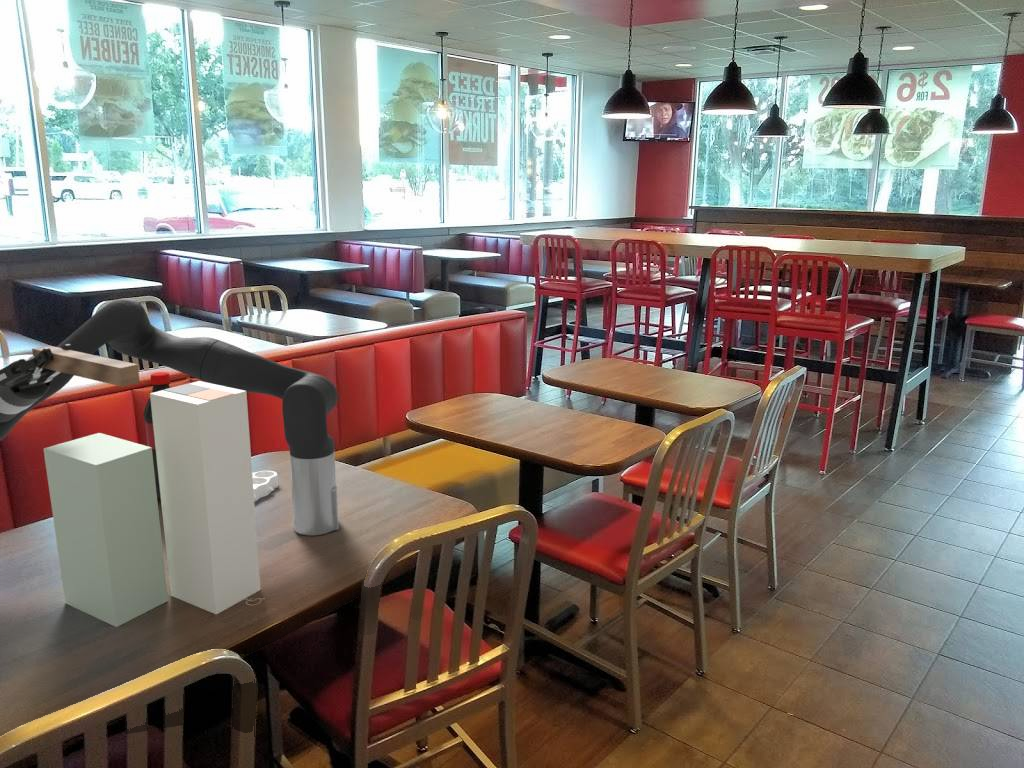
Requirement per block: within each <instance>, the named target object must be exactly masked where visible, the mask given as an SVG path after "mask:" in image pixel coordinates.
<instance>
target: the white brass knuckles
mask: <svg viewBox="0 0 1024 768" xmlns="http://www.w3.org/2000/svg"><path fill="white" fill-rule="evenodd" d="M252 477H253V491H254V502H257V501H258V500H259V499H261V498H263V497H267V496H269V495H270V494H271V493H272V491H275V489H276V488H278V487H279V479H278V478H279V477H278V472H276V471H273V470H260V471H257V472H256V471H255V472H252Z"/></svg>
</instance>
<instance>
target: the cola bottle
mask: <svg viewBox="0 0 1024 768" xmlns="http://www.w3.org/2000/svg"><path fill="white" fill-rule="evenodd" d="M171 383H172V382H171V376H170V373H169V372H168V371H167V372H166V371H158V372H153V373H151V374H150V385H151V386H152V389H151V390H152V391H151V393H154V392H158V391H162V390H164V389H168V388H171V387H170V384H171ZM142 415H143V420H144V424H145V425H144V426H145V433H146V444H147V445H146V446H148V447H152V455H153V465H154V474H155V484H156V493H157V500H160V501H161V495H160V485H159V476H158V466H157V457H156V447H155V438H154V428H153V419H152V409H151V399H150V397H149V398H148V400H147V402H146V405H145V407H144V410H143V414H142Z"/></svg>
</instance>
